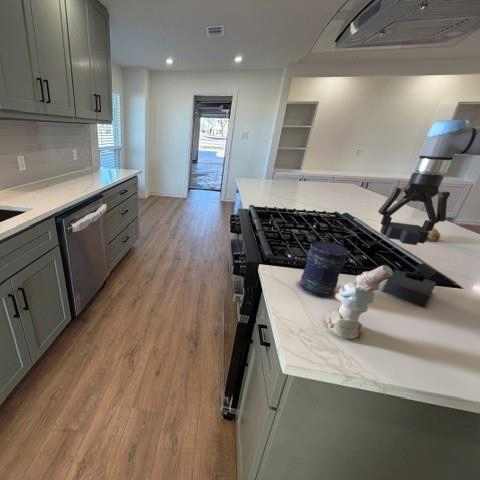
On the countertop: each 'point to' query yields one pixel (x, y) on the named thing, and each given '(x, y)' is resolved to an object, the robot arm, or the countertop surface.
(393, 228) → the loose pad
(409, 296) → the base pad
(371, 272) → the figurine
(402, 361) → the countertop surface
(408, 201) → the robot arm
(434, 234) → the bread roll
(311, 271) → the storage jar
